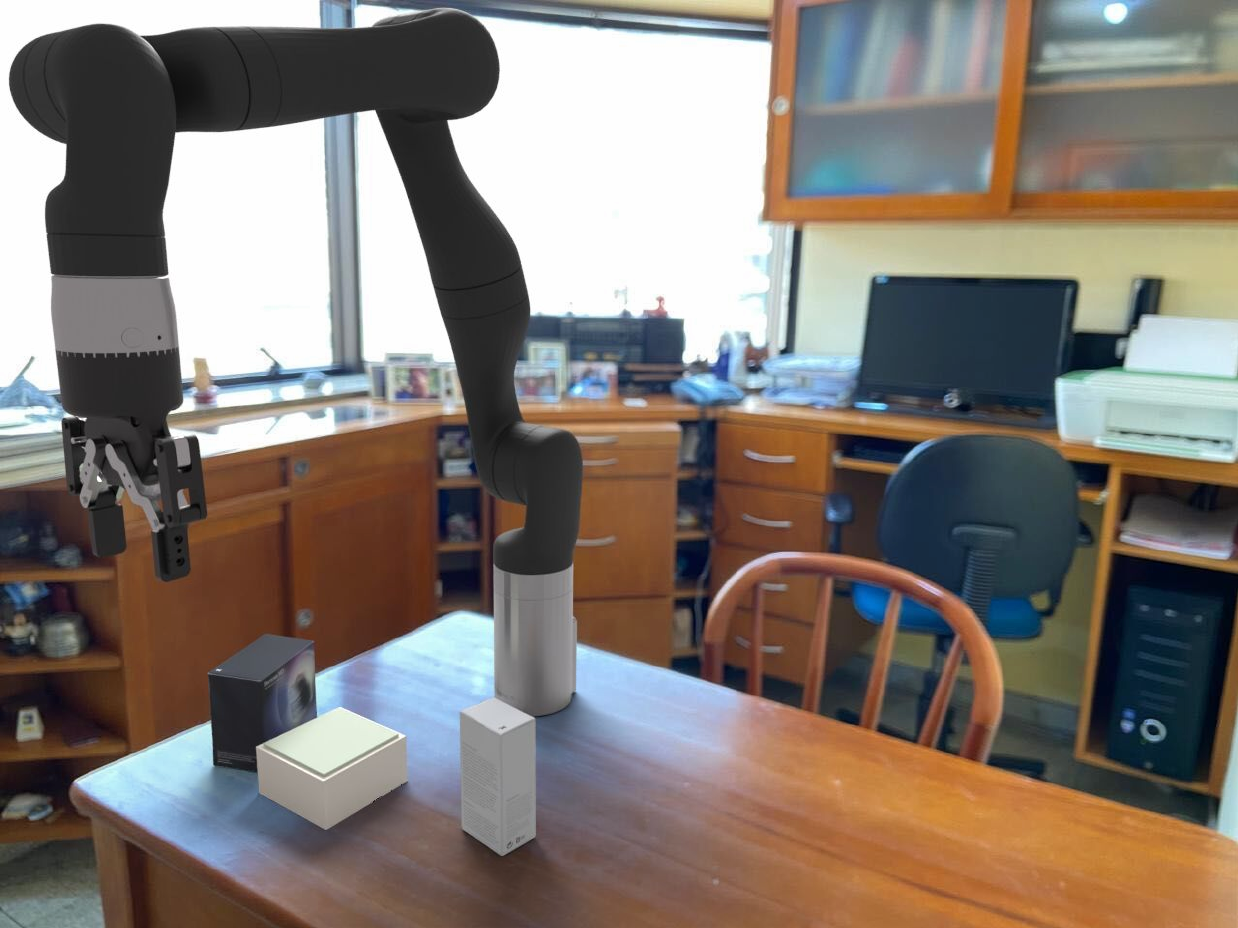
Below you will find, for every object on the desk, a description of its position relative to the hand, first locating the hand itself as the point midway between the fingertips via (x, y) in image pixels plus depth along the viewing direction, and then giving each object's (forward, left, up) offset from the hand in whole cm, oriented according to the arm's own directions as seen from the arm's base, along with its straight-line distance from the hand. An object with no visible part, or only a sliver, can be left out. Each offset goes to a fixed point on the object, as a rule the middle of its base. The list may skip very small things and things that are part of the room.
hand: (140, 565), depth 67 cm
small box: (-20, -16, -30) cm, 39 cm away
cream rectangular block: (-19, -4, -29) cm, 35 cm away
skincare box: (-23, +14, -30) cm, 40 cm away
